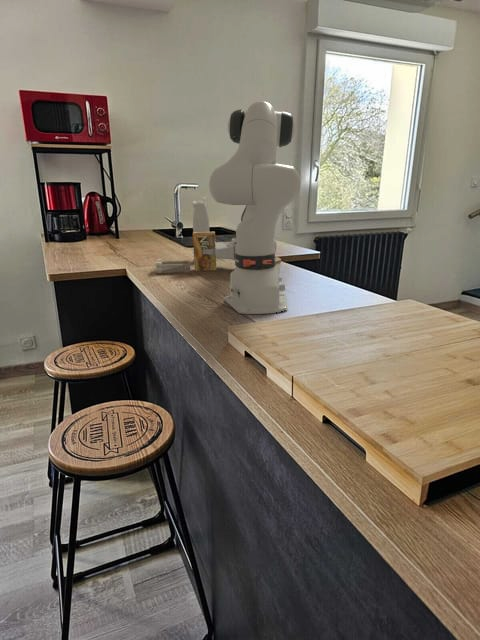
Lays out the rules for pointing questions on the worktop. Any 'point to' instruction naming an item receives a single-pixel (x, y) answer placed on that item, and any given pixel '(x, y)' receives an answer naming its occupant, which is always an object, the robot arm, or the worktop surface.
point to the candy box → (199, 243)
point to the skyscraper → (200, 217)
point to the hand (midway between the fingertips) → (202, 250)
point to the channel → (172, 267)
